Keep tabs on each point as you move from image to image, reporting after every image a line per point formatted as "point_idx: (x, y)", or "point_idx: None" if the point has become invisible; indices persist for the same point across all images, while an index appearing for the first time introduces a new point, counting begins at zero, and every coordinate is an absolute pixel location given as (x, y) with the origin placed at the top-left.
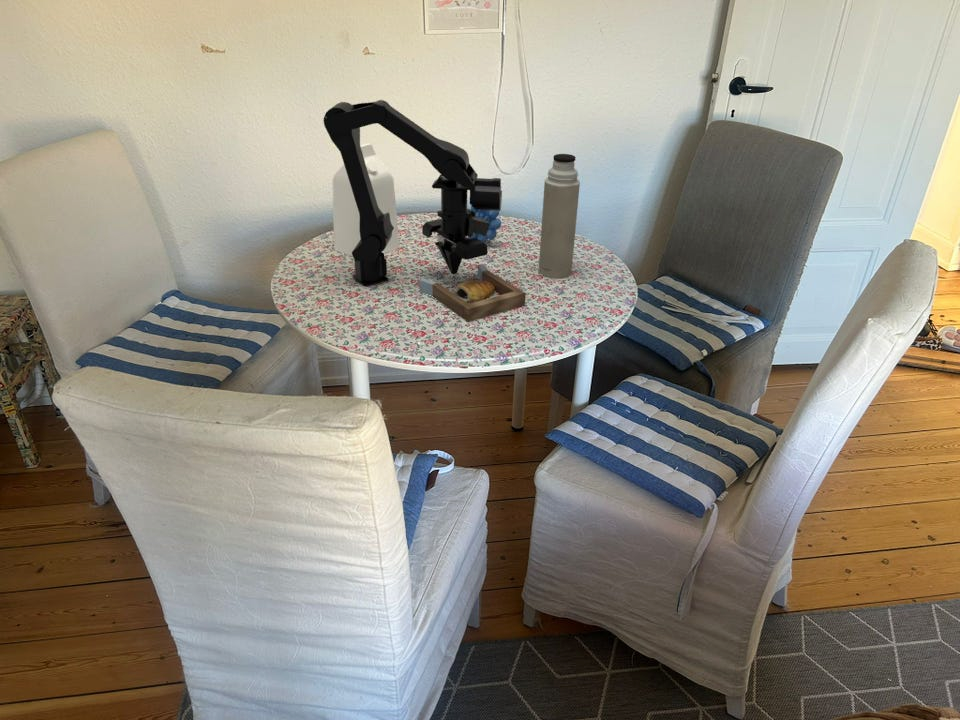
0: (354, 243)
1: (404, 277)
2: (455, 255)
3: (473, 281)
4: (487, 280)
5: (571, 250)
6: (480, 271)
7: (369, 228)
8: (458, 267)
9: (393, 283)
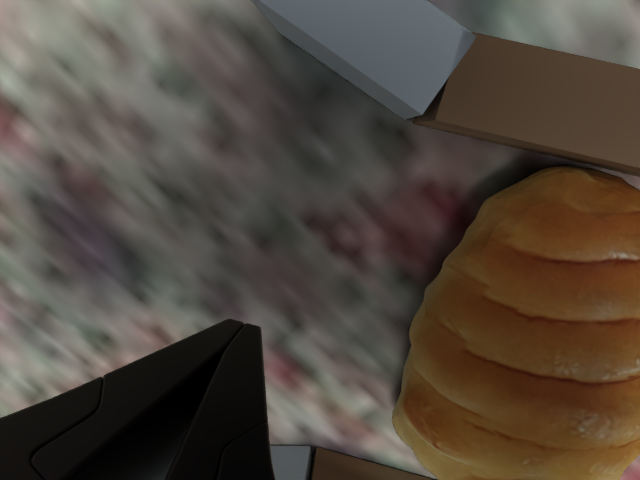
0: None
1: (17, 393)
2: None
3: (542, 405)
4: (513, 142)
5: None
6: (362, 77)
7: None
8: (263, 370)
9: None
